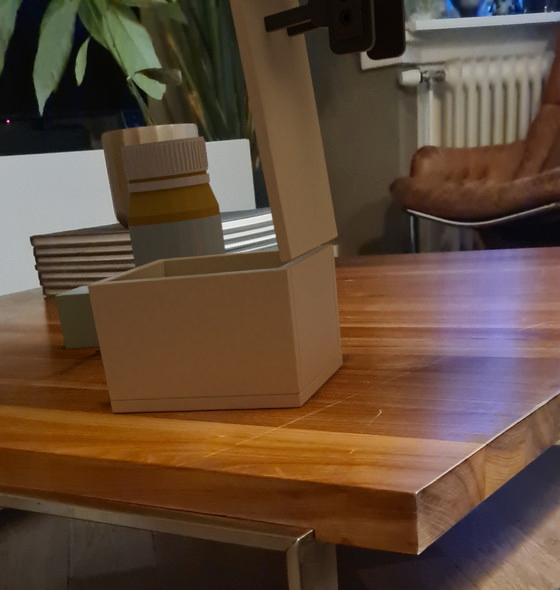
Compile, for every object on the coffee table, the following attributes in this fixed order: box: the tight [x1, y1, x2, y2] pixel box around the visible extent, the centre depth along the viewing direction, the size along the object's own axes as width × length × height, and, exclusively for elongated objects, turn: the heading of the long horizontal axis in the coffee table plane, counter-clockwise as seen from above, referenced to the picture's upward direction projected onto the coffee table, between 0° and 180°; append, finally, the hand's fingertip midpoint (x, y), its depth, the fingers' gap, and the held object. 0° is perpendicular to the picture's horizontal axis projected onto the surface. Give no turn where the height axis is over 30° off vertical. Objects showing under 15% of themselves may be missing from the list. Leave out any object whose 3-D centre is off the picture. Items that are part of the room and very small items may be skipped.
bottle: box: [120, 136, 227, 268], centre depth 70 cm, size 7×7×15 cm
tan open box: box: [87, 243, 344, 414], centre depth 59 cm, size 13×11×8 cm
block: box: [54, 285, 101, 353], centre depth 79 cm, size 5×5×5 cm
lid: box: [229, 0, 339, 262], centre depth 51 cm, size 13×11×5 cm
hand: (370, 56), depth 49 cm, fingers open, 8 cm apart
